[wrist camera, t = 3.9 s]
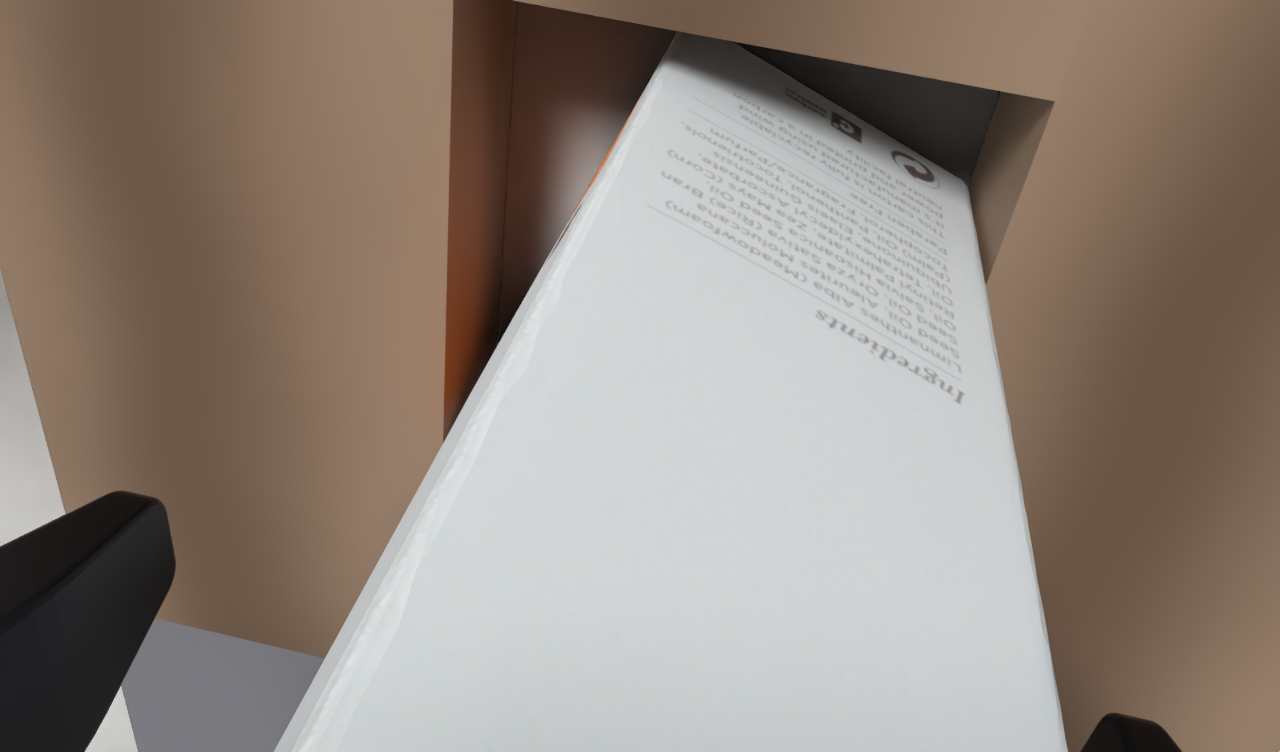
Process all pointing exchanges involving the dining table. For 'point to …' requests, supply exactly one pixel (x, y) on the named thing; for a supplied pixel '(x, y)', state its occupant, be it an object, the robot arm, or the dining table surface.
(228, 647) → the coaster
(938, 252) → the skincare box
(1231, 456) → the holder block
